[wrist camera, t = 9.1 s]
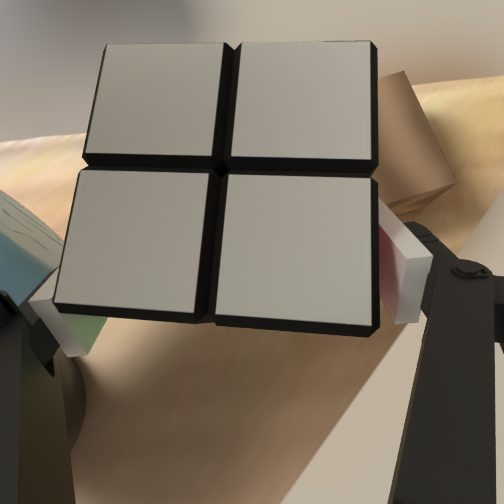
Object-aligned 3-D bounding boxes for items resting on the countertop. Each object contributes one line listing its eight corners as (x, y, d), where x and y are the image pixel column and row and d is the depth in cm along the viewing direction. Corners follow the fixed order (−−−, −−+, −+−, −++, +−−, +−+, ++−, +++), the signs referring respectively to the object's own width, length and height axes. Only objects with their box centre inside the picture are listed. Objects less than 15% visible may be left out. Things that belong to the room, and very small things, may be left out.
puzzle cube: (330, 170, 20) (380, 31, 10) (327, 327, 18) (385, 340, 8) (182, 167, 21) (98, 36, 11) (163, 314, 19) (41, 313, 9)
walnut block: (314, 240, 35) (323, 222, 29) (281, 145, 38) (282, 108, 31) (422, 208, 35) (457, 182, 28) (381, 114, 38) (403, 70, 31)
